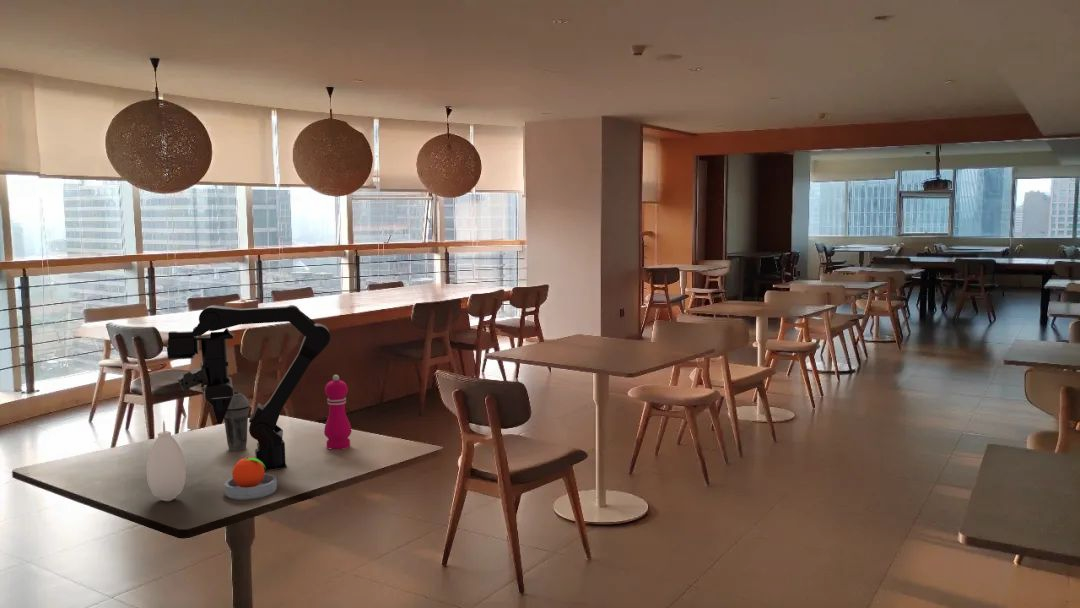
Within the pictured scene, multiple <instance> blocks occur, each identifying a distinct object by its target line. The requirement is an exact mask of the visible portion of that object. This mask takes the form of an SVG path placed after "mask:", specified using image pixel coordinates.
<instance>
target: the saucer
mask: <svg viewBox="0 0 1080 608" xmlns="http://www.w3.org/2000/svg"><path fill="white" fill-rule="evenodd" d="M277 487H278V479H277V477H276V475H275V474H271V473H267V472H264V477H263V479H262V481H261V482H260V483H259V484H258V485H257V486H255V487H248V488H244V487H240V486H238V485H237V484H236V483H235V481H234V480H233V477H231V478H229V479H228V480H226V481H225V482H224V491H225V497H226V498H228V499H231V500H236V501H237V500H238V501H248V500H256V499H262V498H264V497H268V496H271V495H273V494H274V493H275V492H276V491H277Z"/></svg>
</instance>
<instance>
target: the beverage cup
mask: <svg viewBox="0 0 1080 608" xmlns="http://www.w3.org/2000/svg"><path fill="white" fill-rule="evenodd" d="M228 378H229V384H230V385H231V386H232V388H233V389H234V386H233V379H232V376H231V377H230V376H228ZM250 407H251V406H250V402H249V400H248V398H247V396H245V395H244V394H243V393H242V392H239V391H238V392H236V391H235V392H234V391H233V396H232V399H231V402H230V404H229V407H228V409H227V412H226V414H225V417H224V420H223V423H224V427H225V428H224V429H225V434H226V442H227V447H228V451H230V452H240V451H244V450H246V449H247V442H248V427H249V426H248V425H249V424H248V423H249V412H250Z"/></svg>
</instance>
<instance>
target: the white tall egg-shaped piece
mask: <svg viewBox="0 0 1080 608" xmlns="http://www.w3.org/2000/svg"><path fill="white" fill-rule="evenodd" d="M146 462H147V463H146V480H147V484H148V487H149V489H150V491H151V493H152V494H153V496H154V497H156V498H158V499H159V500H160V501H164V502H170V501H173V500H174V499H176V498H177V497H178V495H179V494H181V493H182V491H183V489H184V487H185V484H186V480H187V479H186V478H187V464H186V460H185V456H184V454H183V450H182V449H181V446H180V444H179V443H178V442H177V441H176V439H175V438H174V437H173V436H172V432H170V431H166V423H165V420H163V421H162V431H159V432H158V433H157V437H156V439H155V441H154V442H153V444H152V446H151V448H150V450H149V453H148V456H147V461H146Z"/></svg>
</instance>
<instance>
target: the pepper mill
mask: <svg viewBox="0 0 1080 608" xmlns="http://www.w3.org/2000/svg"><path fill="white" fill-rule="evenodd" d="M346 383H347V382H345V381H343V380H341V379H340V376H339V375H338V374H334V375H333V376H332V380H330V381H329V382H327V383H326V384H325V387H324V393H325V395H326V396H327V397H328V398H327V399H326V400H327V404H328V407H329V410H328V411H329V412H328V416H327V420H326V423H325V424H324V429H323V430H324V431H323V433H324V436H325V437H326V439H327V440H326V448H327V449H328V448H331V449H330V450H332V449H339V450H344V449H343V448H345V449H348V448H350V446H351V439H350V438H349V437H350V436H351V434H352V426H351V425H352V424H351V422H350V420H349V419H348V416H347V414H346V403H347V397H346V396H347V393H348V392H349V391H348V389H349V388H348V385H347V384H346ZM347 447H348V448H347Z"/></svg>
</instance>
